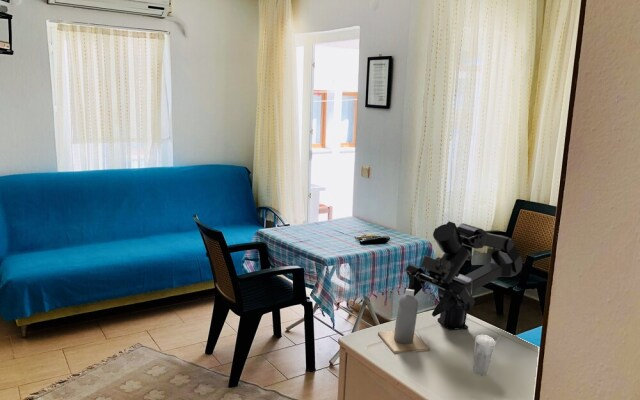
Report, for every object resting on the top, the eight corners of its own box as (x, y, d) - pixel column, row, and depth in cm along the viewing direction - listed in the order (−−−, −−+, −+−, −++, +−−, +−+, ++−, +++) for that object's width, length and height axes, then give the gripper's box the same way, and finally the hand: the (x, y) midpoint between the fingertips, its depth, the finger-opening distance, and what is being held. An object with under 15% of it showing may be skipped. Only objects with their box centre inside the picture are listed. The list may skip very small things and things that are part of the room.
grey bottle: (412, 336, 133) (419, 287, 130) (413, 345, 128) (420, 295, 125) (394, 333, 133) (400, 285, 131) (393, 342, 129) (400, 292, 126)
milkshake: (494, 379, 117) (501, 340, 115) (470, 375, 118) (477, 335, 116) (492, 369, 121) (499, 331, 119) (469, 365, 122) (475, 327, 120)
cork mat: (411, 331, 137) (411, 329, 137) (429, 350, 128) (429, 348, 128) (377, 334, 134) (377, 332, 134) (394, 353, 125) (394, 350, 124)
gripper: (413, 235, 139) (380, 280, 134) (470, 256, 125) (436, 306, 120) (428, 258, 145) (397, 301, 141) (483, 280, 131) (452, 329, 127)
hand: (418, 308), depth 132 cm, fingers open, 9 cm apart
